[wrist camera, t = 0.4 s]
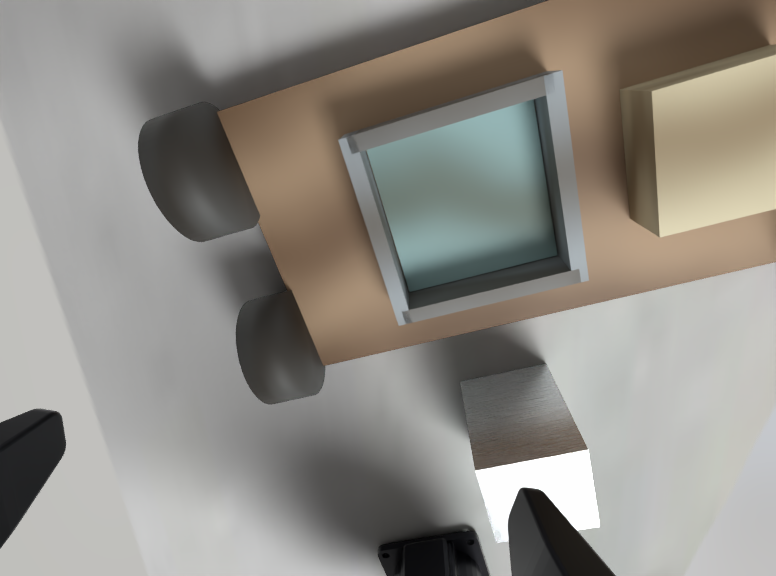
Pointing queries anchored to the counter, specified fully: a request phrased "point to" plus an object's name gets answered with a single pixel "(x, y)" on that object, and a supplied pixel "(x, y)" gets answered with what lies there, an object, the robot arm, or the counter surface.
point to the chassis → (486, 177)
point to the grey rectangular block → (527, 446)
